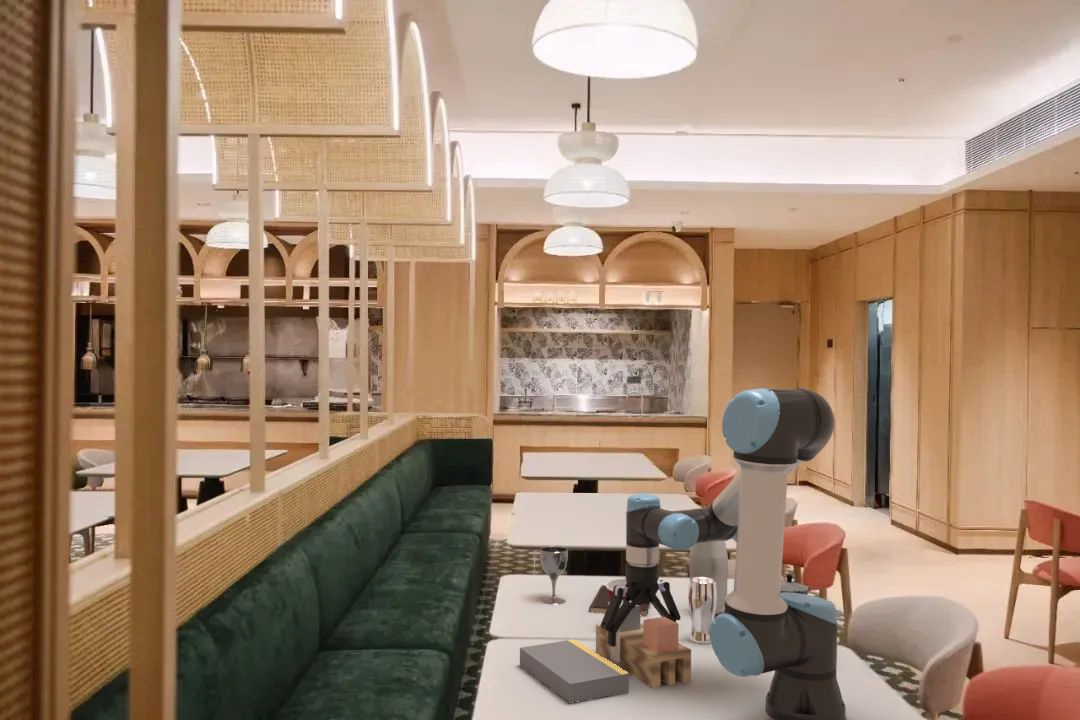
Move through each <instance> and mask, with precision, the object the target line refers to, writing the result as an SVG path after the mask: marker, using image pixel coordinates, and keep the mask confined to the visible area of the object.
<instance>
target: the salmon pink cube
mask: <svg viewBox="0 0 1080 720" xmlns="http://www.w3.org/2000/svg"><path fill="white" fill-rule="evenodd" d="M642 625H643V645H645V646H647V647H648V648H650V649H652V650H654V651H656V652H662V651H668V650H674V649H678V643H679V630H680V629H679V625H680V624H679V623H678V622H677V621H676V622H674V621H672V620H670V619H668V618H666V617H661V616H659V617H653V618H647V619H643V624H642Z"/></svg>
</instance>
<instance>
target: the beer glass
mask: <svg viewBox="0 0 1080 720" xmlns="http://www.w3.org/2000/svg"><path fill="white" fill-rule="evenodd" d="M687 597H688V606H689V607H688V608H689V613H690V620H691V626H690V627H691V629H690V633H689V634H690V635H689V640H690V641H691V642H693V643H695V644H702V645H703V644H704V645H705V644H706V645H707V644H708V645H709V644H711V639H710V627H711V623H712V621H713V620H714V619H715V616H716V615H715V610H716V603H717V589H716V580H715V579H713V578H709V577H692V578H690V577H689V582H688V596H687Z"/></svg>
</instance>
